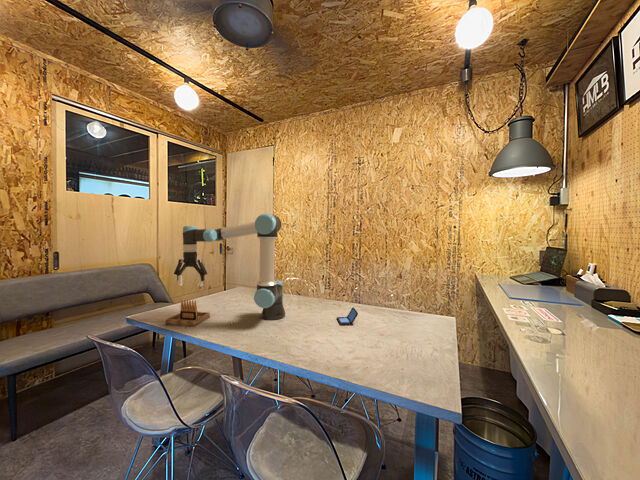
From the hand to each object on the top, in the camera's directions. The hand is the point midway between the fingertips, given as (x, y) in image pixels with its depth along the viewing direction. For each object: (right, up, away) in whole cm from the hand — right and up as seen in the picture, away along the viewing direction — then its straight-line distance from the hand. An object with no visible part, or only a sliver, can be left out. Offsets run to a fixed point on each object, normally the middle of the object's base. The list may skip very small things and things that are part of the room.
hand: (190, 286), depth 157 cm
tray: (-1, -21, -1) cm, 21 cm away
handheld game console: (+95, -22, 0) cm, 98 cm away
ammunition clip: (-1, -20, -1) cm, 20 cm away
